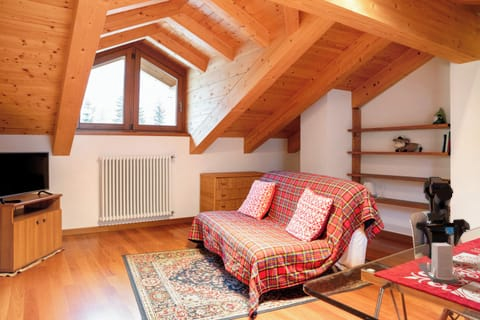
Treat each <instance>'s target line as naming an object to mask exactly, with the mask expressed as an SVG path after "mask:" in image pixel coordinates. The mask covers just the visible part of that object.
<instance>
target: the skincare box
mask: <svg viewBox="0 0 480 320" xmlns="http://www.w3.org/2000/svg"><path fill="white" fill-rule="evenodd" d="M453 252H454V246H453V245H451V244H449V243H448V244H447V243H432V259H431V263H430V264H431V273H432V274H433V273H434V269H437V275H436V276H437V277H451V276H452V275H453V263H454V262H453V261H454V253H453Z"/></svg>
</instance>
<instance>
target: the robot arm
mask: <svg viewBox="0 0 480 320" xmlns="http://www.w3.org/2000/svg"><path fill="white" fill-rule="evenodd" d="M422 187H423V188H422V190H423V191H422V194H424V198H425V199H426V200H427V201H428V205H429V206H428V207H429V212H426V216H427V221H428V222H430V223H428V222H427V221H417V222H416V223H415V229H416V230H418V231H420V232H421V233H423V234H424V236H425V237H424V241H425V245H428V253H425V256H426V257H428V259H430V260H432V243H447V244H449V241H450V236H449V235H448V233H447V228H448V229H451V228H452V230H453V245H454V246H453V247H457V246H458V244H459V242H460V239H461V237H463V235H464V233H467V231H469V230H471V226H470V222H468V221H467V220H465V219H464V218H460V219H459V218H458V219H453V221H452V222H451V221H450V217H451V213H450V206H449V205H450V202H451V201H452V198H453V194H454V190H453V188H452V186H451V184H450V183H449V182H447V181H442V177H440V176H429V177H428V179H427V180H426V181H425V182H423V186H422Z"/></svg>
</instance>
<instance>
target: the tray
mask: <svg viewBox="0 0 480 320" xmlns="http://www.w3.org/2000/svg"><path fill="white" fill-rule="evenodd" d="M417 266H418V267H419V268H420V269H421V270H422V272H423V271H424V272H425V273H426V274H425V273H424V272H423V273H424V274H425V275H426V276H427V277H428V279H430V281H431V282H432V281H433V283H440V282H441V283H442V284H453V285H454V284H456V285H460V280H459V279H458V274H459V270H456V269H454V275H453V274H452V276H451V277H437V276H436V275H437V269H434V273H433V274H432V273H431V263H430V262H429V261H428V262H427V263H425V262H424V263H421V262H418V265H417Z"/></svg>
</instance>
